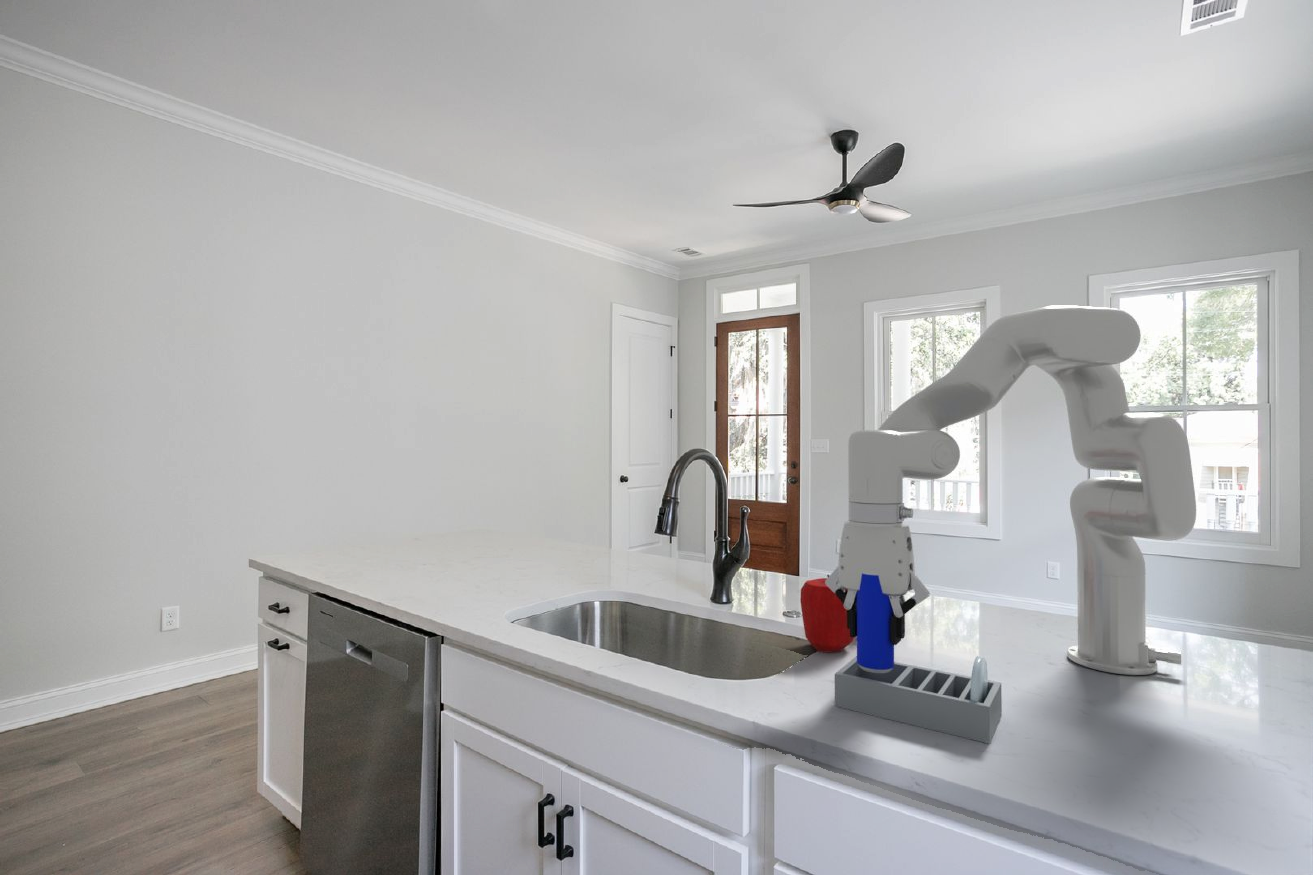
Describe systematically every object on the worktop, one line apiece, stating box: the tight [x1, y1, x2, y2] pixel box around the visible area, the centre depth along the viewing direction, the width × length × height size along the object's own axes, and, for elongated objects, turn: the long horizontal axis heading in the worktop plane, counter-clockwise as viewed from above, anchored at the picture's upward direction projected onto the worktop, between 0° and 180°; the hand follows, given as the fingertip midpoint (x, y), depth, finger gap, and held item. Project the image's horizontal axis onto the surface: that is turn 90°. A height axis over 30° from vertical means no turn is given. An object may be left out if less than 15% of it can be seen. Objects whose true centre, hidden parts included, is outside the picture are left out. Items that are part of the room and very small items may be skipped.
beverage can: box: [856, 570, 895, 673], centre depth 95 cm, size 5×5×15 cm
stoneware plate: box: [970, 655, 989, 703], centre depth 87 cm, size 1×8×8 cm, turn 144°
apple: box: [799, 574, 855, 653], centre depth 119 cm, size 11×10×14 cm
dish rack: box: [834, 655, 1003, 745], centre depth 91 cm, size 20×10×5 cm, turn 54°
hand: (875, 637), depth 95 cm, fingers closed on beverage can, 5 cm apart
